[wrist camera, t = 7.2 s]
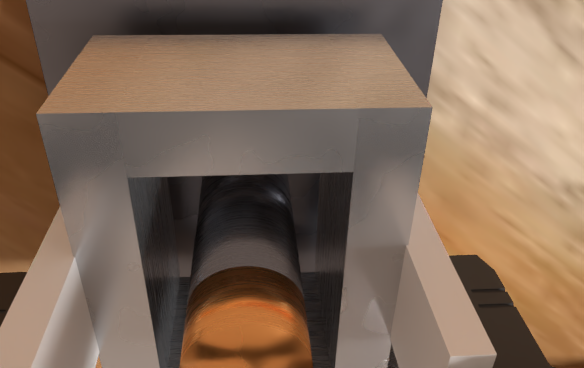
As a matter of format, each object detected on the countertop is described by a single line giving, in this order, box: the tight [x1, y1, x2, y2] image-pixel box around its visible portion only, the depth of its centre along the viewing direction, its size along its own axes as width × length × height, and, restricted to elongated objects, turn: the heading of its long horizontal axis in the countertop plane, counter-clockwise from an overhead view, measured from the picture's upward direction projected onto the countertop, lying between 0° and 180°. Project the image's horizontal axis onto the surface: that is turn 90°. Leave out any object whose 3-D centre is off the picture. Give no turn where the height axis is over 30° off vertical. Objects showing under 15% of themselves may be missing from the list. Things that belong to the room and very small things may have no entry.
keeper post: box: [26, 0, 443, 368], centre depth 13 cm, size 10×10×8 cm
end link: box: [36, 34, 432, 368], centre depth 13 cm, size 8×6×4 cm
